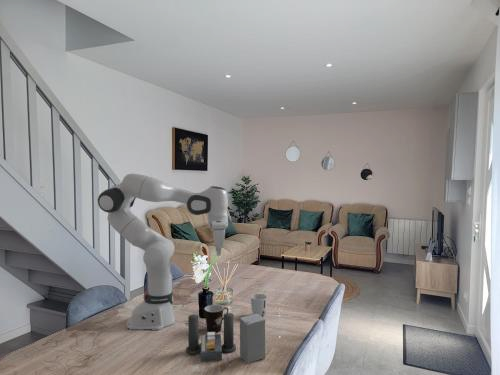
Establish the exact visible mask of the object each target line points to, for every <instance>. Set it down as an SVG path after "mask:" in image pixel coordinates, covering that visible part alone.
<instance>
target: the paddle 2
mask: <svg viewBox="0 0 500 375" xmlns="http://www.w3.org/2000/svg"><path fill="white" fill-rule="evenodd" d="M206 346H207V350H208V349H212V348H215V343H214V341H211V342H207V343H206Z"/></svg>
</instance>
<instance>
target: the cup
mask: <svg viewBox="0 0 500 375" xmlns="http://www.w3.org/2000/svg"><path fill="white" fill-rule="evenodd" d="M267 304H268V296H267V295H266V294H264V293H255V294H252V295H250V306H251V310H252V311H251V312H252V315H253V314H257V313H258V314H259V315H260V316H261V317H263V318H264V317H265V316H266V315H265V314H266V312H267Z"/></svg>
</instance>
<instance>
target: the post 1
mask: <svg viewBox="0 0 500 375" xmlns="http://www.w3.org/2000/svg"><path fill="white" fill-rule="evenodd" d="M199 316H200V315H198V314H190V315H188V319H187V322H188V325H187V326H188V330H187V332H188V346H187V347H186V348H185V353H186V355H188V354H189V356H196V355H197V356H198V355H199V354H201V345H199V344H200V343H199V341H200V340H199V337H200V336H199V330H200V329H199V325H200V324H199V323H200V322H199V320H200V319H199Z"/></svg>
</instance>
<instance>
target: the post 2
mask: <svg viewBox="0 0 500 375" xmlns="http://www.w3.org/2000/svg"><path fill="white" fill-rule="evenodd" d="M223 317H224V319H223V344H221V345H222V353H224V354H225V353H226V354H231V353H234V352H235V351H236V350H237V345H236V344H235V343H234V342H235V341H234V335H235V333H234V331H235V330H234V324H235V323H234V314H233V313H231V312H228V313H227V312H225V313H223Z"/></svg>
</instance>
